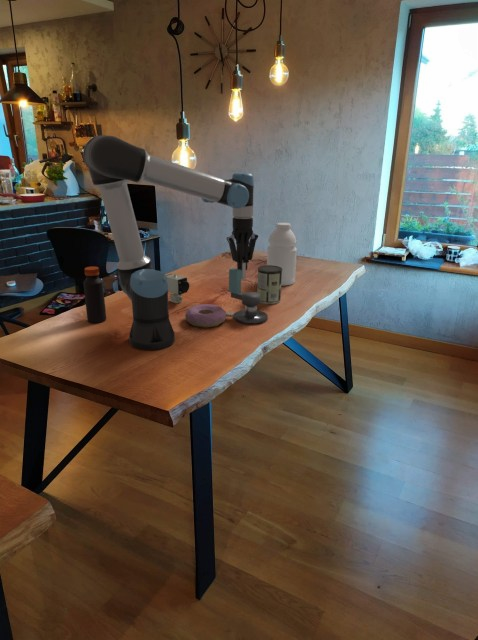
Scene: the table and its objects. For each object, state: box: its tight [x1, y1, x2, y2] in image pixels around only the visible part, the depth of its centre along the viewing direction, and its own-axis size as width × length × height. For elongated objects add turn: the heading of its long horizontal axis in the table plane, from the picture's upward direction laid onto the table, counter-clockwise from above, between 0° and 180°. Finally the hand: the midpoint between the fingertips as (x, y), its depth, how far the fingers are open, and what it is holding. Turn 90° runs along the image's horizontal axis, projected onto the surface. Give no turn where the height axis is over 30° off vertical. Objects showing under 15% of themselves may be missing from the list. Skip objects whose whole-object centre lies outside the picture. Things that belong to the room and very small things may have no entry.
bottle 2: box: [266, 222, 298, 287], centre depth 214 cm, size 14×14×28 cm
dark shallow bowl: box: [226, 305, 269, 326], centre depth 174 cm, size 13×16×6 cm
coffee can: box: [256, 264, 282, 305], centre depth 192 cm, size 10×10×14 cm
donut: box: [185, 303, 227, 328], centre depth 170 cm, size 16×15×5 cm
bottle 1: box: [82, 266, 107, 324], centre depth 166 cm, size 7×7×20 cm
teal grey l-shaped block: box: [228, 267, 261, 306], centre depth 172 cm, size 14×7×12 cm, turn 51°
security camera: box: [165, 273, 190, 304], centre depth 188 cm, size 6×12×12 cm, turn 53°
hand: (242, 278), depth 176 cm, fingers closed
